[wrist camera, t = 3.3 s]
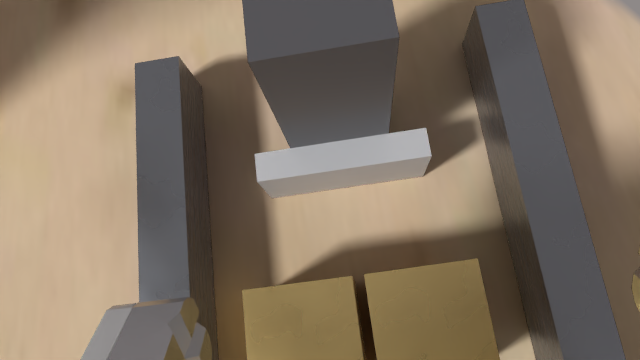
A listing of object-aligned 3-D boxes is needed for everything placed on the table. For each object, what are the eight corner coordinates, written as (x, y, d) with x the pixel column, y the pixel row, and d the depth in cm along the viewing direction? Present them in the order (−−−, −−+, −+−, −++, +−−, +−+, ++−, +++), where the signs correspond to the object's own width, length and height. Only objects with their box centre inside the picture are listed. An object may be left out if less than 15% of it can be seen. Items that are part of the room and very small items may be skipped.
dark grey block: (261, 96, 23) (185, -53, 14) (403, 73, 23) (428, -97, 13) (271, 198, 22) (195, 112, 12) (423, 176, 21) (467, 69, 12)
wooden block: (364, 280, 20) (363, 274, 17) (457, 267, 20) (477, 258, 16) (380, 378, 19) (382, 395, 16) (477, 366, 19) (504, 381, 15)
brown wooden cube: (265, 293, 21) (242, 290, 17) (355, 281, 20) (352, 275, 17) (274, 391, 20) (250, 410, 16) (368, 379, 19) (368, 397, 16)
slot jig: (163, 93, 24) (134, 63, 21) (503, 37, 23) (523, -2, 20) (180, 556, 18) (144, 603, 15) (628, 513, 17) (680, 554, 14)
